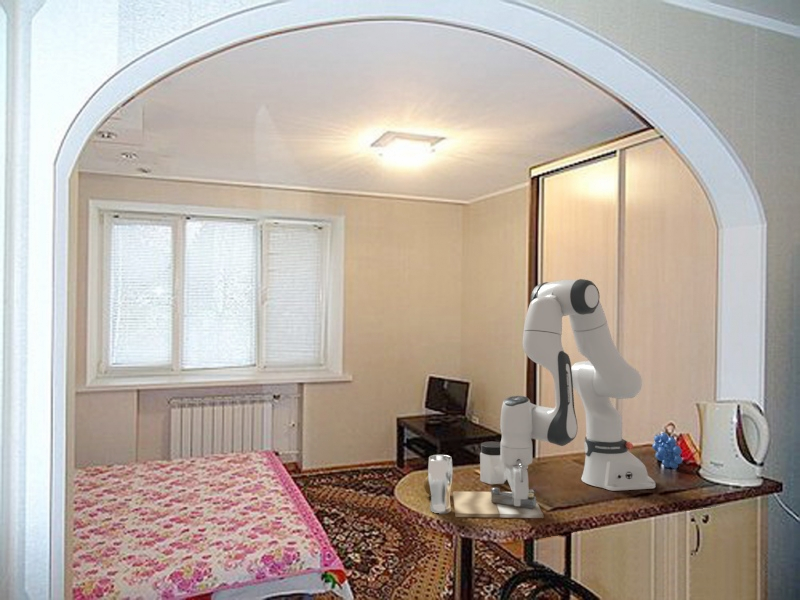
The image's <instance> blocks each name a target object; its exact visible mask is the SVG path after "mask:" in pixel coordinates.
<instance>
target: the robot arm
mask: <svg viewBox="0 0 800 600" xmlns="http://www.w3.org/2000/svg"><path fill="white" fill-rule="evenodd" d="M599 291H600V290H599V289H598V287H597V286H596V284H595V283H594V282H593V281H591V280H589V279H585V278H584V279H582V278H579V279H561V280H557V281H556V280H555V281H551V282H547V281H546V282H542V283H540V284H538V285H536V286H535V287H534V288H533V290H532V292H531V294H530V303H529V306H528V308H527V311H526V315H525V318H524V319H525V320H524V325H523V326H524V327H523V333H522V350H523V352H524V353H525V355H526V356H527V358H529V359H530V360H531V361H532V362H534V363H535V364H537V365H539V366H541V367H543V368H545V370H547V371H548V372H549V373H550V374H551V375H552V378H553V384H554V385H553V386H554V401H555V403H554V405H555V406H554V407H550V406H549V407H547V406H543V405H537V404H534V403H532V402H531V400H530V399H529V398H528V397H527V396H523V395H515V396H514V395H513V396H509V397H507V398H505V399H504V400H503V401H502V404H501V410H500V419H499V420H500V421H499V422H500V425H499V427H500V432H501V440H500V442H501V443H500V460H501V462H503V463H504V468H505V475H506V478H507V480H506V481H507V483H508V485H509V487H510V489H511V492H512V496H513V503H514V506H520V500H521V499H528V496H529V490H530V489H529V488H530V487H529V473H528V470H527V469H529V465H531V464H532V463H533V441H532V440H537V441H542V442H547V443H550V444H553V445H555V446H559V447H565V446H566V445H568V444H569V443H571V442H572V441H573V440H575V439H576V437H577V434H578V420H577V416H576V411H575V410H576V409H575V396H574V390H575V391H576V393H577V394H578V396H579V398H580V401H581V403H582V406H583V409H584V412H585V413H584V415H585V428H586V429H585V432H586V434H585V435H586V436H585V438H584V454H585V459H584V465H583V472H582V475H581V481H582V482H583V483H585V484H587V485H590V486H593V487H597V488H602V489H606V490H608V491H614V492H615V491H629V490H631V491H632V490H635V491H636V490H647V489H648V490H649V489H656V481H655V480H654V479H653V478H652V477H650V476H649V474H648V470H647V467H646V465H645V464H644V463H643V461H641V460H640V459H639V458H638V457H637V456H635V455H634V454H633V453H631V452H630V451H629V450H633V448H634V444H633V443H632V442H630V441H627V440H626V439H625V438H623V418H622V415H621V412H620V411H618V409H616V408H615V406H614V405H613V404H612V401H611V399H616V400H617V399H618V400H624V399H625V400H626V399H627V400H628V399H633V398H636V397H637V396H638V395H639V394H640V391H641V390H642V386H643V379H642V376H641V374H640V372H639V371H638V370H637V369H636V368H634V367H633V366H632V365H631V364H629V363H628V362H627V361H626V360H625V358H624V357H623V356H622V355H621V353H620V352H619V350H618V349H617V347H616V346H615V343H614V341H613V338H612V334H611V332H610V328H609V325H608V321H607V316H606V314H605V311H604V308H603V305H602V304H601V301H600V292H599ZM566 316H568V319H569V324H570V328H571V331H572V335H573V338H574V342H575V345H576V349H577V351H578V352H579V353H580V355H581V356H583V358H585V359H587V360H583V361H577V362H575V363H574V364H573V365H572V362H571V359H570V356H569V354H567V353H566V352H565V350H564V347H563V344H562V334H563V333H562V332H563V317H566ZM610 398H611V399H610Z"/></svg>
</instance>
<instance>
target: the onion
mask: <svg viewBox="0 0 800 600" xmlns="http://www.w3.org/2000/svg"><path fill="white" fill-rule="evenodd" d="M423 488H424V492H425V493H426V494H427V495H428V496H430V497H431V490H430V485H429V478H428V476H426V477H425V479H424V481H423Z"/></svg>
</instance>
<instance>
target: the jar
mask: <svg viewBox="0 0 800 600" xmlns="http://www.w3.org/2000/svg"><path fill="white" fill-rule="evenodd" d="M500 443H501V441H484V442H481V444H480V453H479V462H480V463H479V466H480V467H479V469H480V470H479V471H480V472H479V473H480V476H479V478H480V480H479V481H480V482H482V483H485V484H487V485H490V486H491V485H504V484H505V483H506V481H508V480H507V478H506V475H505V468H504V463H503V462H501V460H500Z"/></svg>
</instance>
